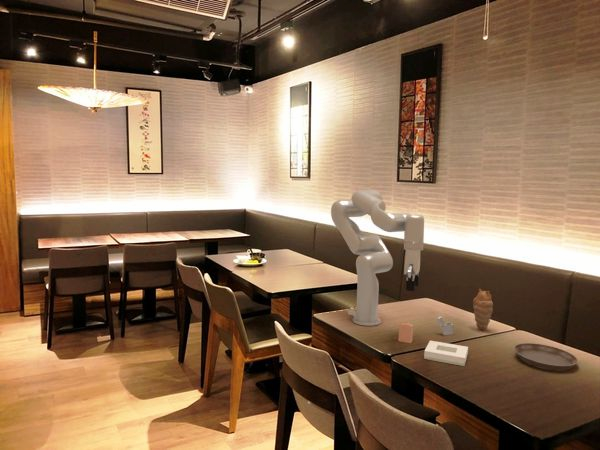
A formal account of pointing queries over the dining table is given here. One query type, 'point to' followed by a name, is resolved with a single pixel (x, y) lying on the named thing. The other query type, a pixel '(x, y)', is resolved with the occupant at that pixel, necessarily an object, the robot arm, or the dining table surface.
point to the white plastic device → (445, 326)
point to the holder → (446, 353)
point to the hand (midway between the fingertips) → (412, 288)
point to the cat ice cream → (482, 309)
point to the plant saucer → (545, 356)
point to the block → (405, 332)
